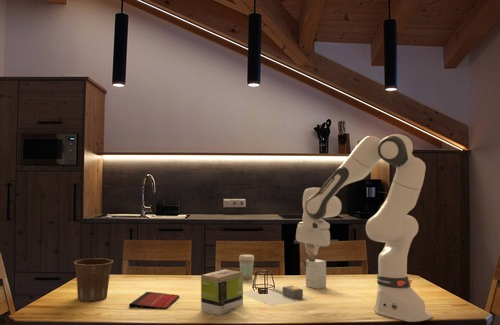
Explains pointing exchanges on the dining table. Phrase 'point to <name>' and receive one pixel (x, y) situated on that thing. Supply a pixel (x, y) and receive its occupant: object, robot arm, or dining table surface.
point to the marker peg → (311, 253)
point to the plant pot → (92, 278)
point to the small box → (316, 274)
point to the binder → (154, 300)
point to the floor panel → (273, 297)
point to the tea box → (221, 291)
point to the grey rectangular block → (292, 292)
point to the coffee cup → (246, 265)
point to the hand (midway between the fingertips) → (312, 253)
